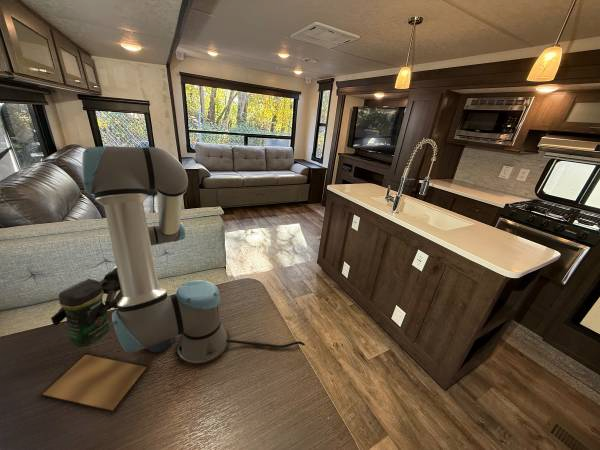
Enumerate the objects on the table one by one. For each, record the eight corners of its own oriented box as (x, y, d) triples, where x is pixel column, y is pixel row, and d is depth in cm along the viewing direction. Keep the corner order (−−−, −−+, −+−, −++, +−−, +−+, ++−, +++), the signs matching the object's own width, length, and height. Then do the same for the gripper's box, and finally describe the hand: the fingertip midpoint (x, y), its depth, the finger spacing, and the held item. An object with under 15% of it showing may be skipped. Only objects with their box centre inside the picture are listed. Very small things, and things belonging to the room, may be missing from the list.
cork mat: (146, 367, 73) (146, 367, 73) (113, 411, 62) (112, 410, 62) (85, 355, 75) (85, 354, 75) (42, 395, 64) (42, 394, 64)
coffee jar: (86, 351, 72) (72, 298, 66) (64, 344, 73) (49, 292, 67) (116, 328, 81) (106, 279, 75) (96, 322, 82) (85, 274, 76)
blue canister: (178, 335, 85) (174, 310, 80) (163, 354, 78) (159, 327, 73) (157, 331, 85) (152, 306, 81) (141, 349, 78) (135, 323, 74)
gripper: (153, 285, 92) (112, 333, 71) (94, 282, 90) (35, 331, 70) (150, 268, 89) (106, 313, 68) (89, 264, 88) (25, 310, 67)
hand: (70, 322), depth 69 cm, fingers closed on coffee jar, 8 cm apart
